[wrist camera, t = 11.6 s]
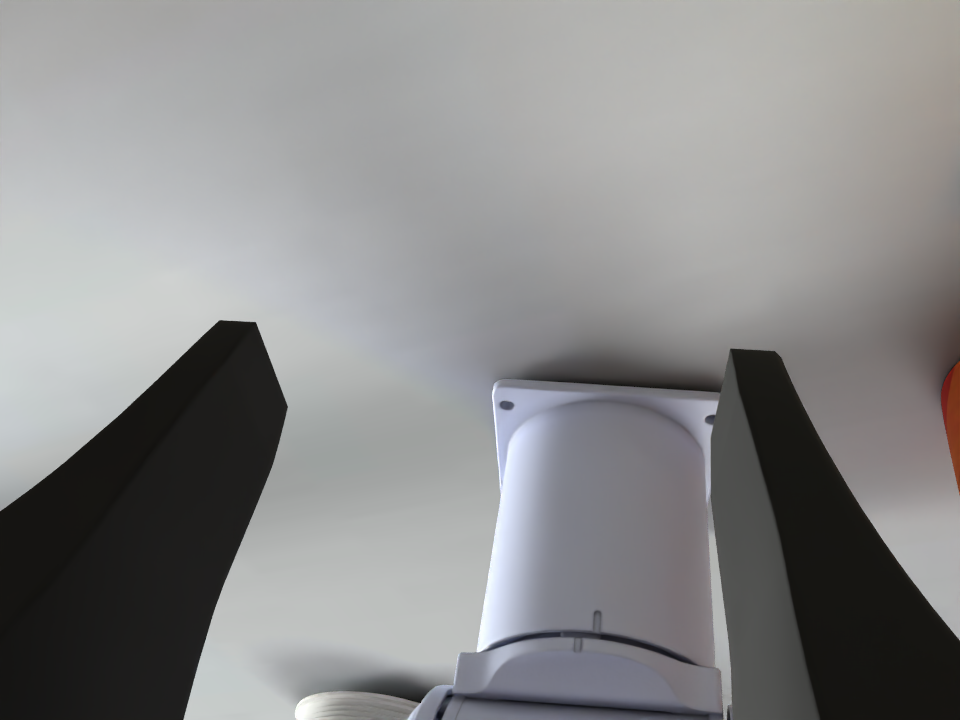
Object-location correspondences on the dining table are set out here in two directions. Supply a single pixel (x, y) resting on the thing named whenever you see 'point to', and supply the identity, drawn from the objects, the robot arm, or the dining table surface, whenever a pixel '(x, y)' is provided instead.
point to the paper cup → (952, 416)
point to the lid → (353, 706)
